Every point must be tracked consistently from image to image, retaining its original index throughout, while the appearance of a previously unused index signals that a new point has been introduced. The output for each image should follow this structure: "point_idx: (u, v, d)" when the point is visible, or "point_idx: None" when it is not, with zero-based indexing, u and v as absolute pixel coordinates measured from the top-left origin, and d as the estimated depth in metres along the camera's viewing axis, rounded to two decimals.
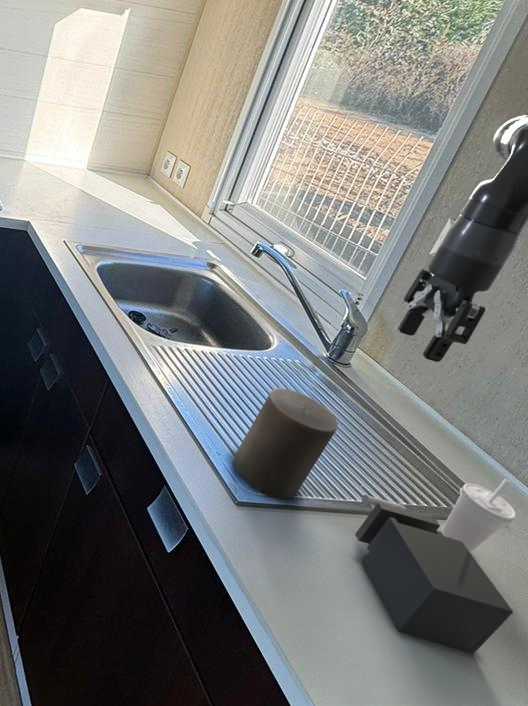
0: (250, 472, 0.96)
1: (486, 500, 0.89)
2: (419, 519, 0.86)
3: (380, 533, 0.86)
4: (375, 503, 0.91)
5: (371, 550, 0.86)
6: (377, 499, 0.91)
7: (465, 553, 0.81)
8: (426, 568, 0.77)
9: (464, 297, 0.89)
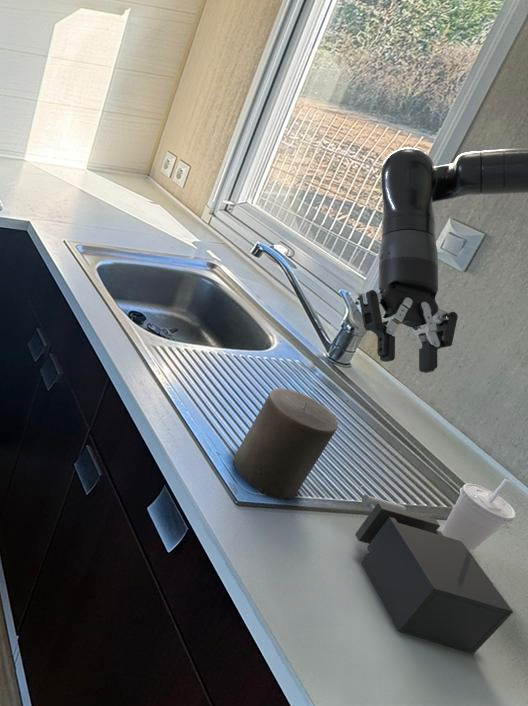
0: (250, 472, 0.96)
1: (486, 500, 0.89)
2: (419, 519, 0.86)
3: (380, 533, 0.86)
4: (375, 503, 0.91)
5: (371, 550, 0.86)
6: (377, 499, 0.91)
7: (465, 553, 0.81)
8: (426, 568, 0.77)
9: (383, 293, 0.99)
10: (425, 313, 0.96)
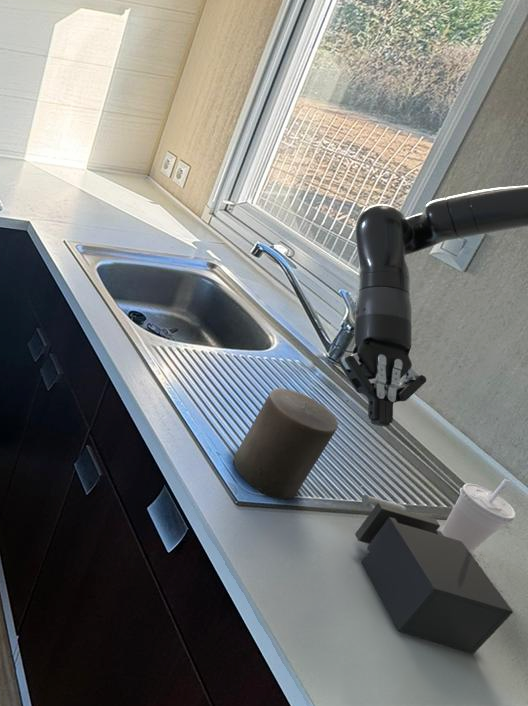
0: (250, 472, 0.96)
1: (486, 500, 0.89)
2: (419, 519, 0.86)
3: (380, 533, 0.86)
4: (375, 503, 0.91)
5: (371, 550, 0.86)
6: (377, 499, 0.91)
7: (465, 553, 0.81)
8: (426, 568, 0.77)
9: (357, 350, 1.01)
10: (394, 369, 0.98)
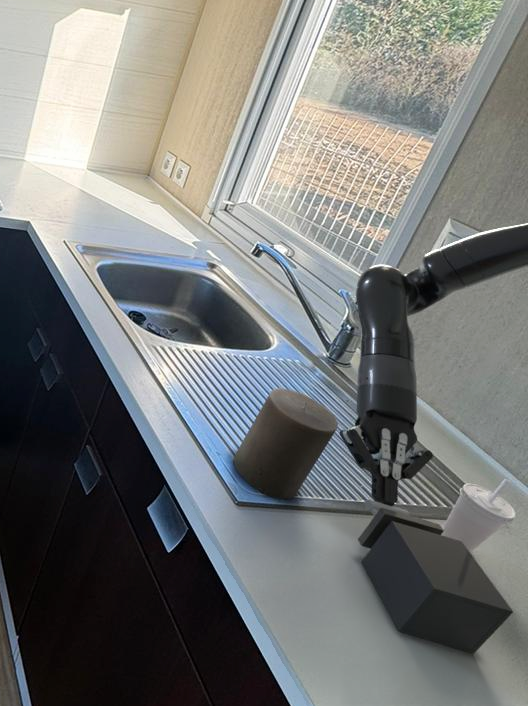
0: (250, 472, 0.96)
1: (486, 500, 0.89)
2: (422, 524, 0.85)
3: None
4: (378, 508, 0.90)
5: (371, 550, 0.86)
6: (380, 504, 0.91)
7: (465, 553, 0.81)
8: (426, 568, 0.77)
9: (359, 423, 0.96)
10: (399, 444, 0.93)
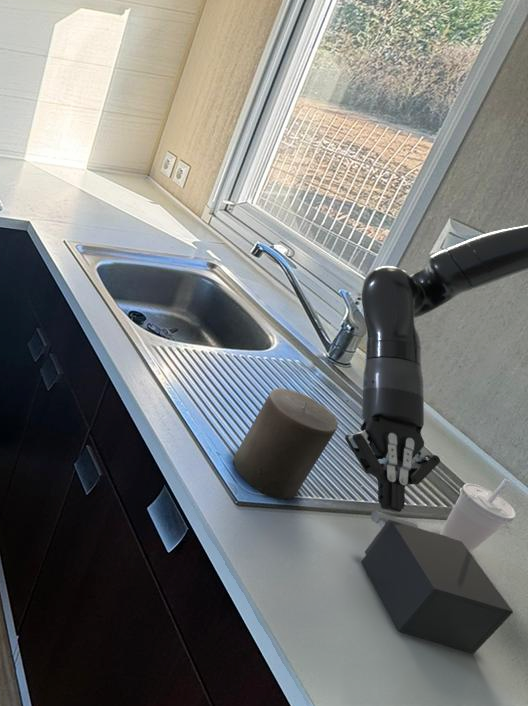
0: (250, 472, 0.96)
1: (486, 500, 0.89)
2: None
3: None
4: (385, 519, 0.88)
5: (371, 550, 0.86)
6: (387, 515, 0.89)
7: (465, 553, 0.81)
8: (426, 568, 0.77)
9: (365, 427, 0.94)
10: (406, 449, 0.92)
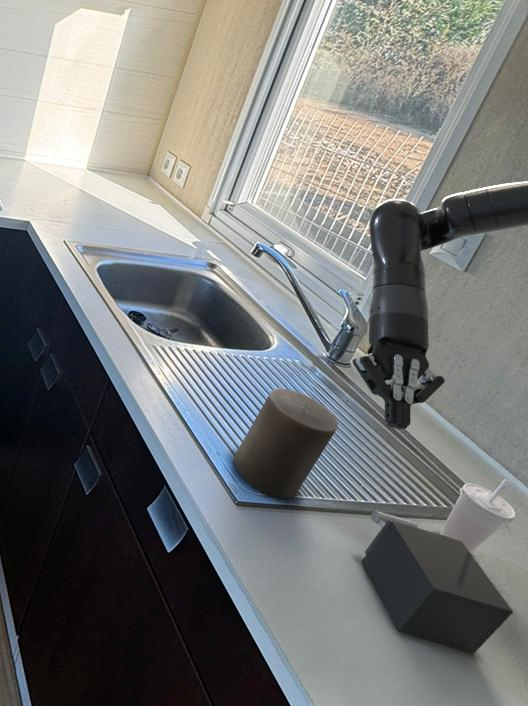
0: (250, 472, 0.96)
1: (486, 500, 0.89)
2: None
3: None
4: (385, 519, 0.88)
5: (371, 550, 0.86)
6: (387, 515, 0.89)
7: (465, 553, 0.81)
8: (426, 568, 0.77)
9: (372, 351, 0.97)
10: (411, 369, 0.95)
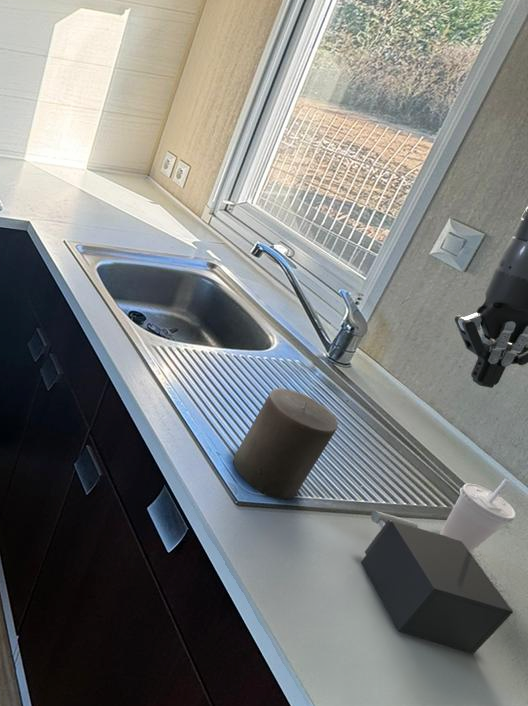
0: (250, 472, 0.96)
1: (486, 500, 0.89)
2: None
3: None
4: (385, 519, 0.88)
5: (371, 550, 0.86)
6: (387, 515, 0.89)
7: (465, 553, 0.81)
8: (426, 568, 0.77)
9: (482, 311, 0.89)
10: (522, 335, 0.87)
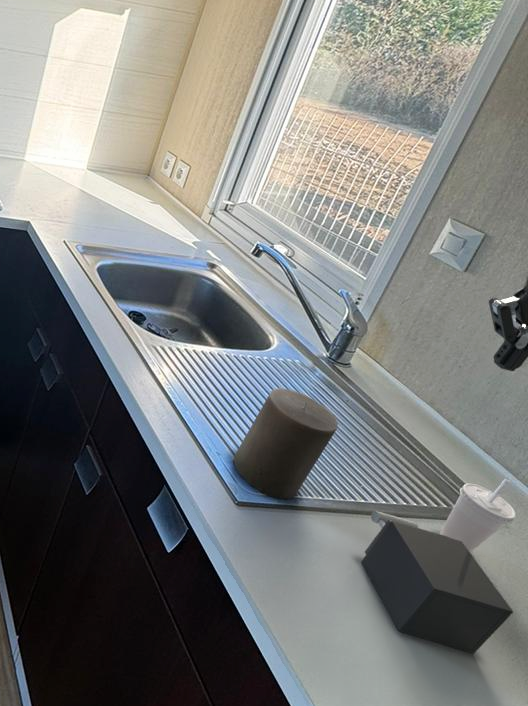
0: (250, 472, 0.96)
1: (486, 500, 0.89)
2: None
3: None
4: (385, 519, 0.88)
5: (371, 550, 0.86)
6: (387, 515, 0.89)
7: (465, 553, 0.81)
8: (426, 568, 0.77)
9: (520, 296, 0.86)
10: None
